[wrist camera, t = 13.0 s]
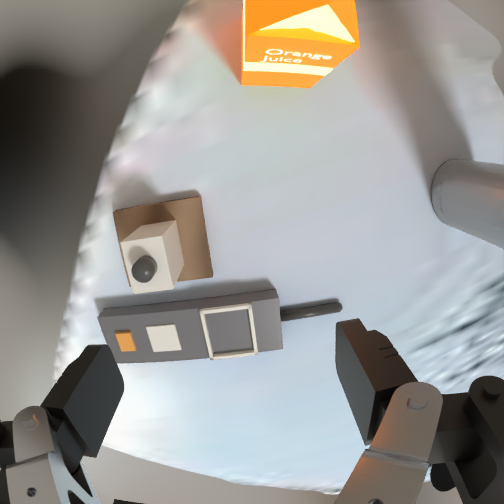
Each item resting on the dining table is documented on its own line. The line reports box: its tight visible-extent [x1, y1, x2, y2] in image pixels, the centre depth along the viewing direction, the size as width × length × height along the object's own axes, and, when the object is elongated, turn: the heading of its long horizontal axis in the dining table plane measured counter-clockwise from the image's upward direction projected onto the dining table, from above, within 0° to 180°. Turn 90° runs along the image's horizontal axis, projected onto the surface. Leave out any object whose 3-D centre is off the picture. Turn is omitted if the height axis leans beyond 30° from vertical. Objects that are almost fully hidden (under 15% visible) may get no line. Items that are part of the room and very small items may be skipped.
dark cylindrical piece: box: [430, 463, 456, 491], centre depth 53 cm, size 10×34×10 cm, turn 74°
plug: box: [120, 220, 184, 294], centre depth 29 cm, size 4×5×8 cm
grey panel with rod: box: [97, 289, 342, 363], centre depth 36 cm, size 30×7×3 cm, turn 97°
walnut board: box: [113, 196, 213, 287], centre depth 34 cm, size 10×9×1 cm
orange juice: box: [241, 0, 360, 88], centre depth 19 cm, size 8×9×20 cm
